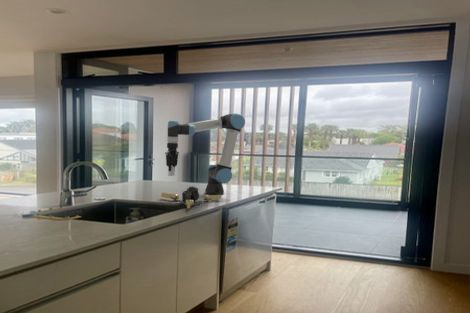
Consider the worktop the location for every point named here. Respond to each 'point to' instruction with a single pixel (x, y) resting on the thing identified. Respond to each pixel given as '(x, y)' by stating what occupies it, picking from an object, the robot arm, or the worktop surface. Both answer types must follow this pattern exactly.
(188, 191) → the camera
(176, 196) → the knob lever
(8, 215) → the worktop surface
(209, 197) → the tribrach
